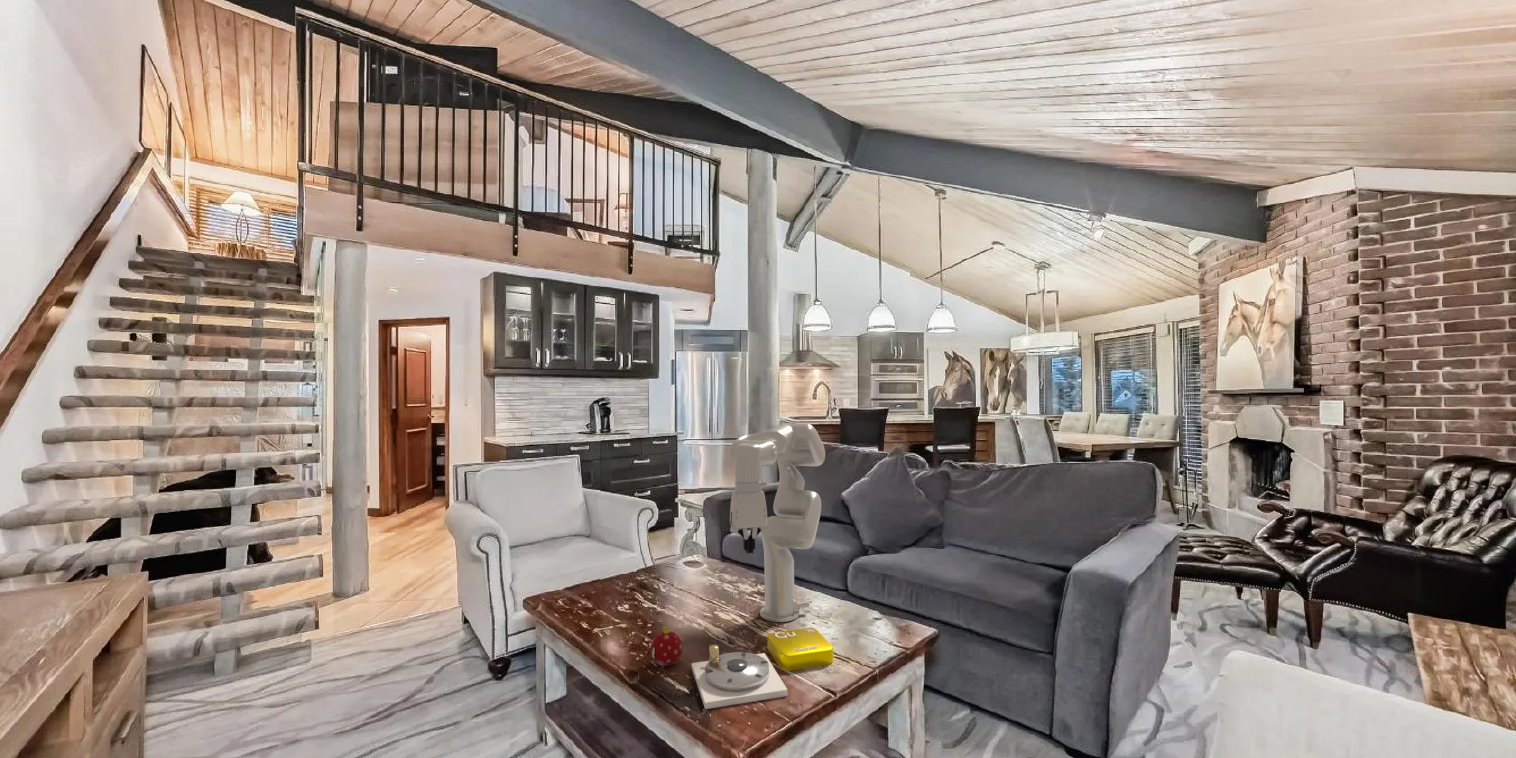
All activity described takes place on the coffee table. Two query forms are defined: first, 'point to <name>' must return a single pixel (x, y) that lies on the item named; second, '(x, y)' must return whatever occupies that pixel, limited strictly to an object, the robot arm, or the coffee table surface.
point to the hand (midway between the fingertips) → (749, 552)
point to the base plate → (724, 698)
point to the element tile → (800, 649)
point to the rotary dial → (735, 670)
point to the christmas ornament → (666, 648)
